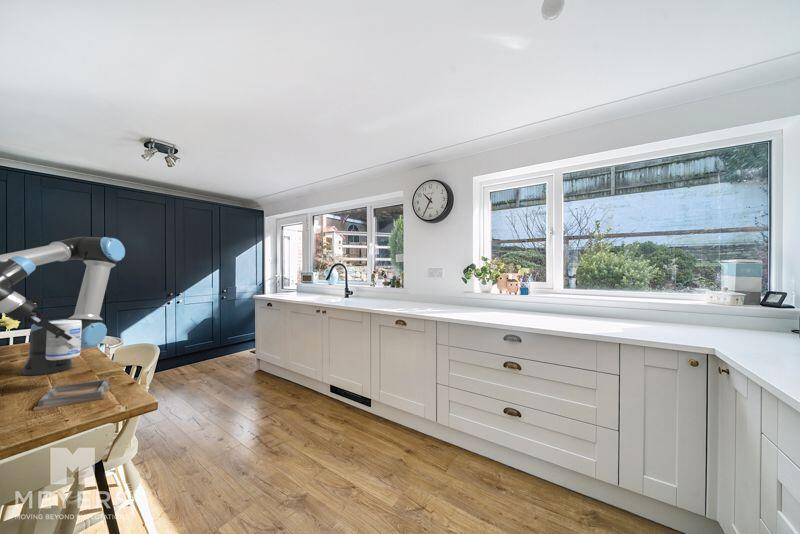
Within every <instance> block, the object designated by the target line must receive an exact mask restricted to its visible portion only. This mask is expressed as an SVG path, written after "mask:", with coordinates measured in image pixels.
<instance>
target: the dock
mask: <svg viewBox="0 0 800 534" xmlns="http://www.w3.org/2000/svg"><path fill="white" fill-rule="evenodd" d="M111 387H112V382H110V379H109V378H107V379H100V380H99V379H98V380H93V381H86V382H85V381H84V382H77V383H70V384H63V385H62V384H61V385H54V386H52V387H51V388H50V389H49V390H47V392H46V393H45V394H44V395H43V396H42V397H41V398H40V399H39V400H38V403H37V405H36V406H35V407H34V408H33V410H32V411H33V412H35V411H40V410H47V409H52V408H58V407H65V406H70V405H71V406H72V405H77V404H83V403H84V404H85V403H89V402H96V401H102V400H104V399H105V397H106V396H107V393H108V391H109V390H110V389H111Z"/></svg>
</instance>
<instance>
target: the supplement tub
mask: <svg viewBox="0 0 800 534" xmlns="http://www.w3.org/2000/svg"><path fill="white" fill-rule="evenodd" d="M60 320H61V319H60ZM50 323H52V324H53V325H55V326H57V327H58V328H60V329H62V330H64V331H66V332H68V333H69V334H71V335H73V336H74V337H76V338H78V339H80V340H81V331H82V321H81V320H61V321H53V322H50ZM58 332H59V331H58ZM55 336H56V335H55V334H53V333H51V332H50V331H48V330H47V338H46V359H47V360H63V359H70V358H71V359H74V358H77V357H78V356H79V357H80V355H81V349H82V348H81V342H80V343H79V344H77V345H76V346H73V345H71V344H70V343H68V342H66V341H64V340H63V339H61V338H59V337H58V338H55Z"/></svg>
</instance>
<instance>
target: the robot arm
mask: <svg viewBox="0 0 800 534" xmlns="http://www.w3.org/2000/svg"><path fill="white" fill-rule="evenodd" d="M125 255H126V249H125V246H124V245H123V243H122V242H121V240H119V239H117V238H115V237H108V236H103V237H98V236H97V237H96V236H95V237H92V236H78V237H72V238H67V239H62V240H58V241H52V242H51V243H49V244H48V245H44V246H38V247H34V248H29V249H24V250H19V251H14V252H13V251H12V252H9V253H3V254H0V314H4V316H5V317H7V318H9V319H10V320H12V321H18V320H21V319H22V318H24V317H25V318H26V319H25V321H26V322H28V323H30V324H31V326H30V331H29V355H28V358H27V360H26V361H25V364H24V365H23V368H22V371H21V372H22V373H21V374H22V375H23V376H41V375H47V374H48V375H49V374H54V373H59V372H62V371H66V370H69V369H71V368H72V367H73V361H72V358H70V359H63V360H47V359H46V338H47V330H48V331H50V332H51V333H53V334H55V335H56V336H55V338H58V337H59V338H61V339H63V340H64V341H66V342H68V343H70V344H71V345H73V346H76V345H77V344H79V343H80V342H81V349H86V348H87V349H89V348H94V347H96V346H99V344H101V343H102V342H103V341H104V339H105V337H106V336H107V333H108V328H107V325H106V324H104V323H103V321H104V319H103V317H101V316H100V314H101V310H102V306H103V301H104V297H105V293H106V290H107V285H108V281H109V279H110V278H109V277H110V273H111V269H112V268H114V267H116V265H117V262H119V261H122V259H124V257H125ZM73 260H74V261H75V260H78V261H79V260H80V261H81V260H82V262H83V263H84V264H85V265H86V266H85V267H86V268H85V272H84V274H83V279H82V282H81V286H80V290H79V294H78V298H77V302H76V306H75V309H74V314H73V315H72V316H70V317H68V318H62V319H61V318H60V319H54V320H49V319H48V318H46V317H45V316H44V315H43V314H41V313H40V312H38V311H37V312H34V311H35V310H36V309H37V307H38V305H37V304H36V303H35V302H33V301H31V300H30V299H26V297H25V296H23V295H21V294H20V293H18V292H16V291H14V290H13V289H12V288H11V287H12V286H13V285H16V284H17V283H19V282H20V281H21V280H23V279H25V278H26V277H28V276H30V274H32V273H33V272H34V271H35V270H36V267H37V266H42V265H45V264H49V263H53V262H66V261H73ZM61 320H81V321H82V331H81V340H80V339H78V338H76V337H74V336H73V335H71V334H69V333H68V332H66V331H64V330H62V329H60V328H58V327H57V326H55V325H53V324H52V323H50V322H53V321H61ZM58 331H59V332H58Z"/></svg>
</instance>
